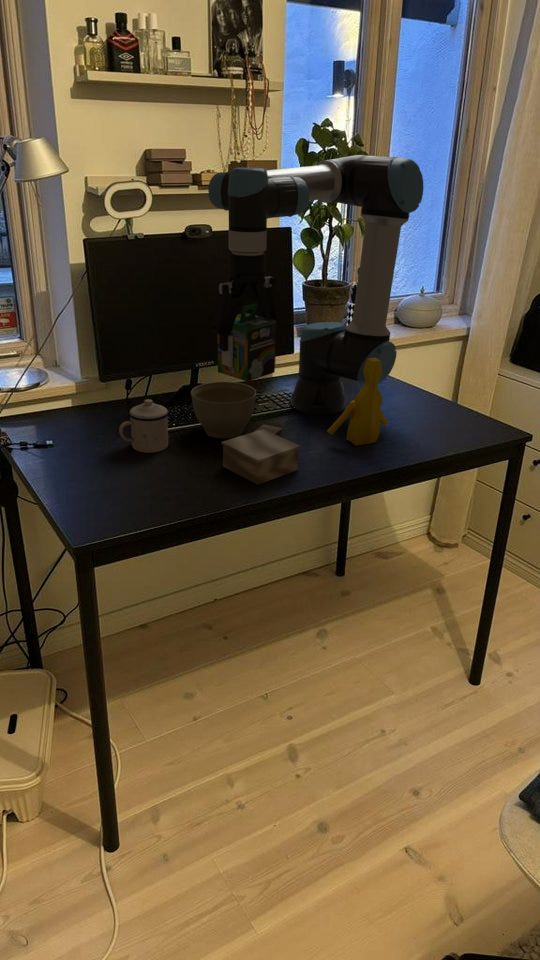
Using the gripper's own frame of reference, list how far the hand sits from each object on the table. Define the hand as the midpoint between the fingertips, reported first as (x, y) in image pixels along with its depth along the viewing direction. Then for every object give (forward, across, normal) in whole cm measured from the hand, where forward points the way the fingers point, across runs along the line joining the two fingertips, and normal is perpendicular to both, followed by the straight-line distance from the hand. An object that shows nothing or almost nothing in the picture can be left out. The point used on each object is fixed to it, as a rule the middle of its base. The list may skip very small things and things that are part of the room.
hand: (246, 360), depth 155 cm
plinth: (+25, -2, +2) cm, 25 cm away
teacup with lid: (+25, +12, -23) cm, 36 cm away
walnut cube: (+25, -11, -5) cm, 28 cm away
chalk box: (+3, 0, 0) cm, 3 cm away
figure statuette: (+26, -32, +6) cm, 42 cm away
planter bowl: (+25, -9, -20) cm, 33 cm away
